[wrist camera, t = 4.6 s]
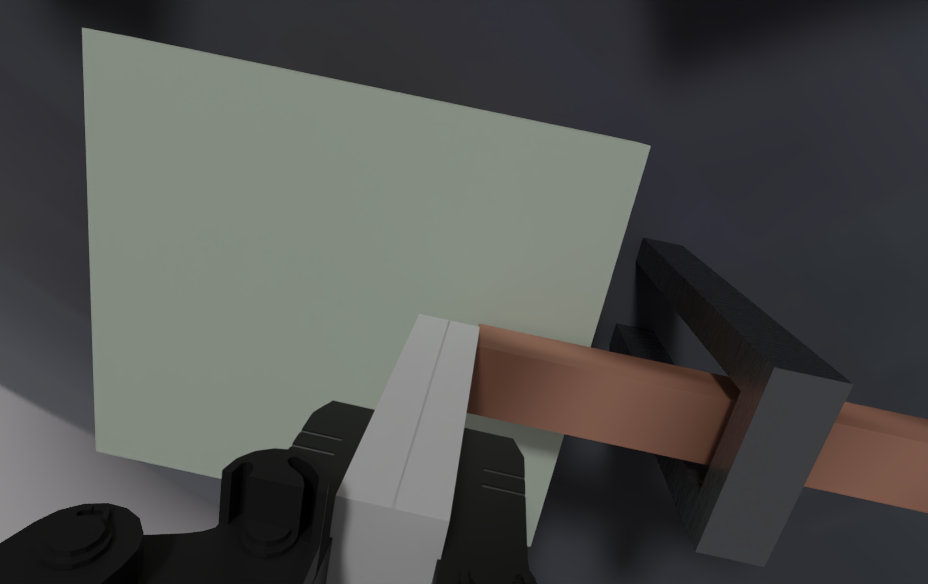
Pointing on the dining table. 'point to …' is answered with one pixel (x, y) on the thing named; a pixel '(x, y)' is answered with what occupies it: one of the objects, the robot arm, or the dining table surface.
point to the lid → (318, 245)
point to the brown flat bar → (680, 413)
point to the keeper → (740, 409)
